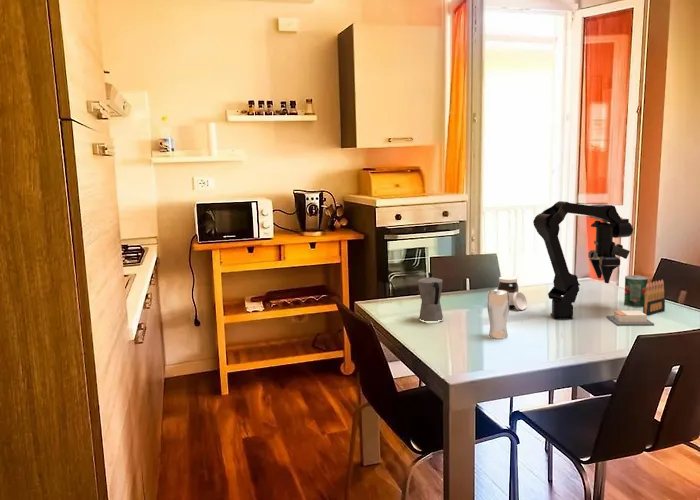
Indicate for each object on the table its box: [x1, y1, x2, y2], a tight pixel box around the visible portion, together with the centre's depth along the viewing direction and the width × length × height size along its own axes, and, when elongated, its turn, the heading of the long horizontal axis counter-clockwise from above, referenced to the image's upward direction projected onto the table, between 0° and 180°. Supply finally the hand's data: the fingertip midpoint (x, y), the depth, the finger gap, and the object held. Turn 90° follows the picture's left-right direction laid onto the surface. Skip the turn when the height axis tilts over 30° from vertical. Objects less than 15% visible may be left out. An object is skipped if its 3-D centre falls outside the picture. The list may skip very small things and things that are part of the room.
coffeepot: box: [417, 272, 444, 321], centre depth 206 cm, size 15×9×18 cm, turn 10°
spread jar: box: [497, 275, 528, 311], centre depth 222 cm, size 12×11×12 cm
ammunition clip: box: [642, 279, 666, 317], centre depth 206 cm, size 11×2×12 cm, turn 120°
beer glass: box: [486, 289, 510, 340], centre depth 185 cm, size 7×7×15 cm
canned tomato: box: [623, 274, 649, 308], centre depth 218 cm, size 8×8×11 cm
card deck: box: [612, 309, 648, 322], centre depth 197 cm, size 6×9×2 cm, turn 84°
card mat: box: [605, 315, 655, 327], centre depth 198 cm, size 12×11×1 cm
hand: (603, 280), depth 209 cm, fingers open, 9 cm apart
